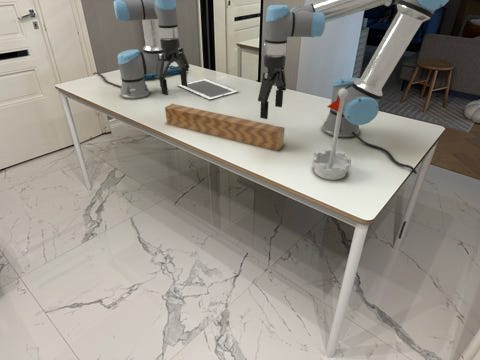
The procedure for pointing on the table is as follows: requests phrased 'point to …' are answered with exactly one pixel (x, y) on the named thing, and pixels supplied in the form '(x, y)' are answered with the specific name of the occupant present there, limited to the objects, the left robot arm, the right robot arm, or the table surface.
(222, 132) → the post
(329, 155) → the flag stand
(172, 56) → the left robot arm
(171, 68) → the submachine gun
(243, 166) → the table surface
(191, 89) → the tablet
